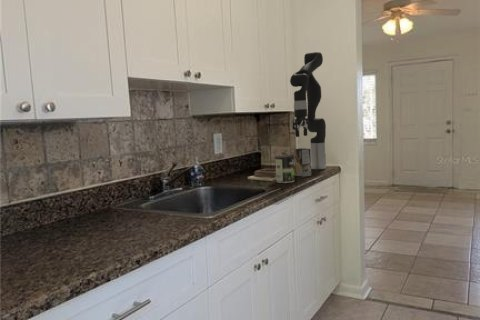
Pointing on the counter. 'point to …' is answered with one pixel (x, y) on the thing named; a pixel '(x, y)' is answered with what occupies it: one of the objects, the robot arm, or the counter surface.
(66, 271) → the counter surface
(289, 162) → the coffee can
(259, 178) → the cradle board
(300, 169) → the coffee box
